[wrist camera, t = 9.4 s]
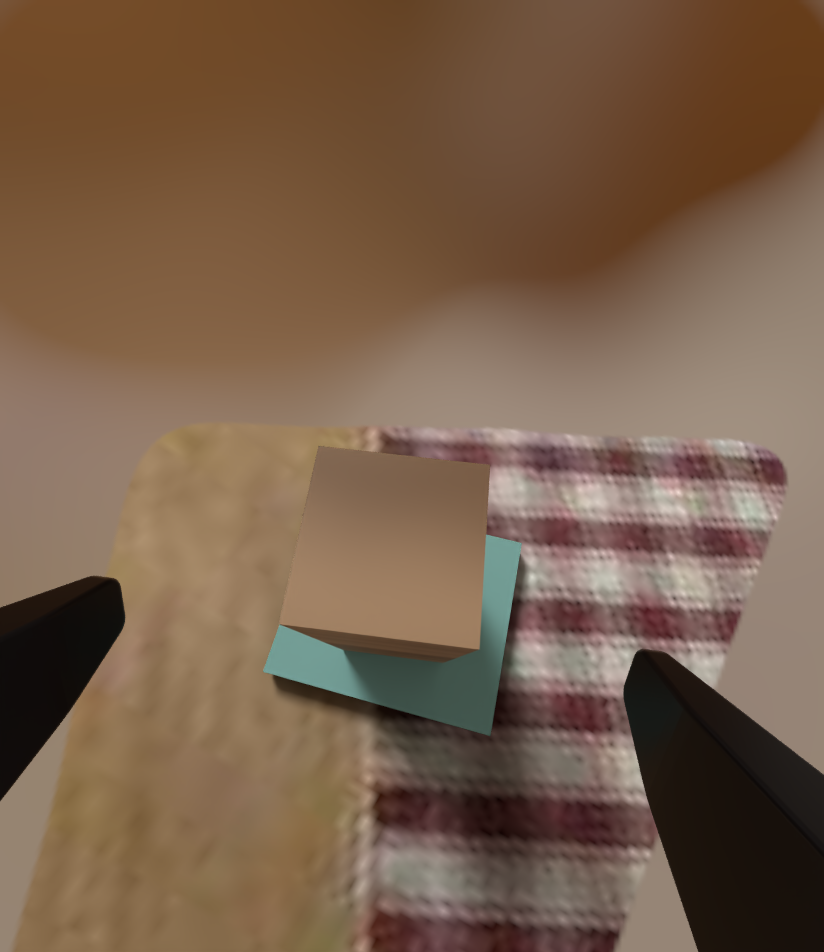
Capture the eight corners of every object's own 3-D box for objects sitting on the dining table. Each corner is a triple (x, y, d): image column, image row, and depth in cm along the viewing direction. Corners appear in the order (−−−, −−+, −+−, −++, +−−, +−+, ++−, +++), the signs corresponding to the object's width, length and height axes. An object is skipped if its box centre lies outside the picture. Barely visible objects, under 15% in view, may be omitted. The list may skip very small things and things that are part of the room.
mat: (486, 733, 18) (490, 736, 17) (268, 671, 19) (263, 671, 18) (517, 547, 21) (521, 543, 20) (327, 501, 22) (325, 495, 21)
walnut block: (443, 662, 18) (479, 649, 9) (342, 649, 18) (278, 623, 9) (451, 562, 20) (489, 465, 11) (359, 551, 20) (318, 445, 11)
